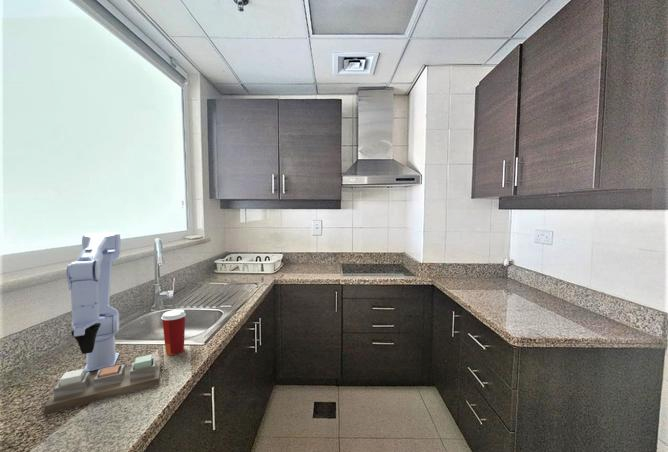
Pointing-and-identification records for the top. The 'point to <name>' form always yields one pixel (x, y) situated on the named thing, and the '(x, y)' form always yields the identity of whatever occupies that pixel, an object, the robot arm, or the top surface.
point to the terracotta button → (110, 371)
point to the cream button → (72, 377)
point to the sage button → (143, 362)
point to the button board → (103, 386)
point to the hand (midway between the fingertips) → (87, 352)
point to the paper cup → (174, 331)
